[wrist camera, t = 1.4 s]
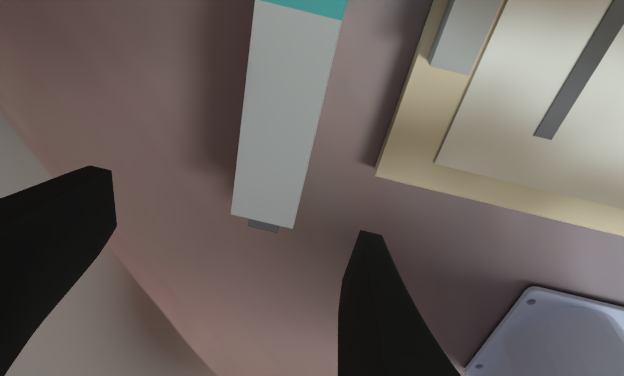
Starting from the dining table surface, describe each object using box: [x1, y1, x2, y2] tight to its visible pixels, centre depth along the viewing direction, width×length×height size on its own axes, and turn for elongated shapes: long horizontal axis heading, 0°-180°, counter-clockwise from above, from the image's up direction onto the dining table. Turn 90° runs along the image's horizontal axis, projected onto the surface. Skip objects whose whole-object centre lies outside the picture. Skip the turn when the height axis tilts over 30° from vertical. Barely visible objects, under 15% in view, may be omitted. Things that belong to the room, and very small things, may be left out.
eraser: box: [231, 0, 347, 233], centre depth 17 cm, size 14×3×3 cm, turn 168°
